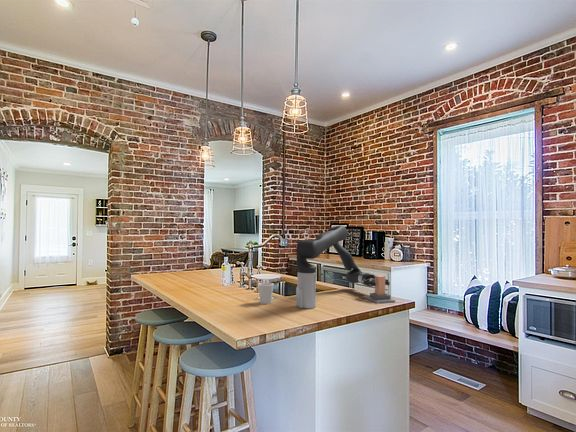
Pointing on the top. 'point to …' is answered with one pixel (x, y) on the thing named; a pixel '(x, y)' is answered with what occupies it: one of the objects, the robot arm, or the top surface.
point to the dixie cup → (265, 292)
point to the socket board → (379, 298)
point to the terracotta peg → (380, 285)
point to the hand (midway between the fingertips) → (382, 283)
